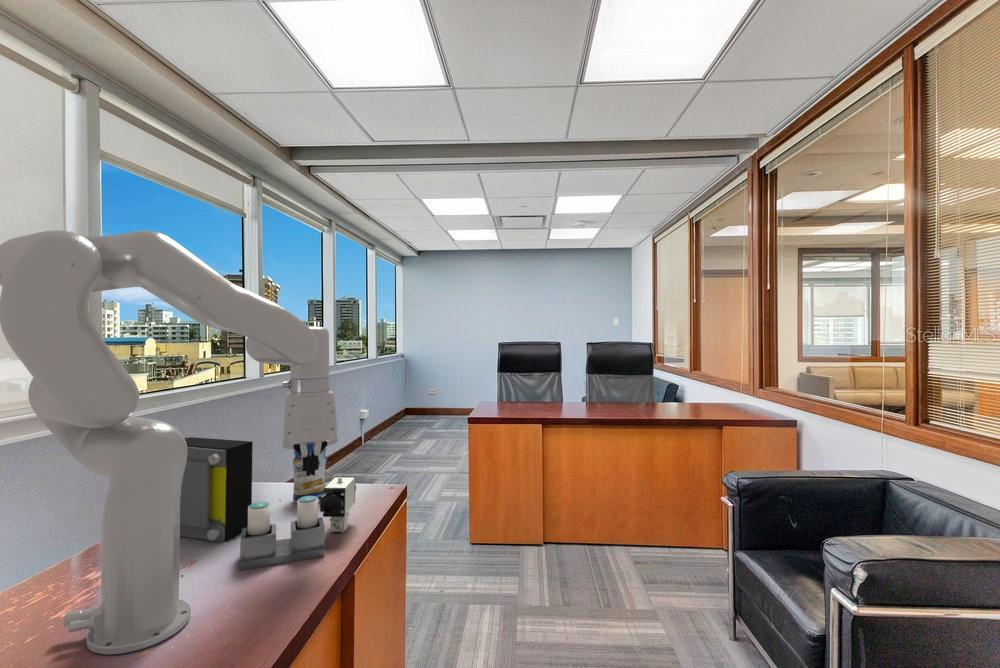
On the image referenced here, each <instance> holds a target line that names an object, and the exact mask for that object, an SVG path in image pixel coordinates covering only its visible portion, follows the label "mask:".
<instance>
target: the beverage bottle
mask: <svg viewBox="0 0 1000 668" xmlns="http://www.w3.org/2000/svg"><path fill="white" fill-rule="evenodd" d="M306 446H307V450H308V451H309V454H311V453H312V450H313V447H314V442H311V443H306ZM326 453H327V446H326V447H325V448H324V449H323V451H322V452H321V453H320V454H319V455H318V470H315V475H313V476H312V475H310V476H307V474H306V471H303V457H302V455H301V454H299V453H298V452H297V451H296V450H294V449H293V454H294V458H293V460H292V466H293V493H292V494H293V496H292V501H293V502H294V503H295V504H297V501H298V500H299V499H300V498H301V497H305V496H315V497H317V498H318V503H320V498H321V497H322V496H323V489H324V488H325V487H324V486H325V484H326V466H327V459H328V458H327V456H326Z"/></svg>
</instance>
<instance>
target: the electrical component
mask: <svg viewBox="0 0 1000 668" xmlns="http://www.w3.org/2000/svg"><path fill="white" fill-rule="evenodd" d="M184 438H185V441H186V444H187V450H188V455H187V462H186V467H185V471H184V476H183V481H182V488H181V499H180V537H183V538H184V537H185V538H192V539H199V540H206V541H210V542H211V541H213V542H219V543H227V542H229V541H231V540H233V539H234V538H237V537H239V536H241V532H242V528H247V527H248V507H249V506H250V505H251V504H253V498H252V497H253V446H254V444H253V441H248V440H235V439H234V440H233V439H221V438H220V439H219V438H206V437H193V436H191V437H184Z"/></svg>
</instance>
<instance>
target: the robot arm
mask: <svg viewBox="0 0 1000 668" xmlns="http://www.w3.org/2000/svg"><path fill="white" fill-rule="evenodd" d="M0 286H1V287H2V288H1V292H0V329H1V331H2V334H3V336H4V338H5V340H6V342H7V343H8V345H9V347H10V349H11V350H12V351H13V353H14V354H15V355H16V356H17V358H18V359H19V361H20V362H21V363H22V365H23V366H24V367H25V368H26V370H27V371H28V373H29V374H30V375H31V376H32V379H31V381H30V384H29V386H28V390H27V391H28V393H27V396H28V402H29V405H30V407H31V409H32V410H33V413H34V414H35V415H36V417H37V418H38V419H39V420H40V422H41V423H43V425H44V426H45V427H46V428H47V430H49V432H50V433H51V434H52V435H53V436H54V437H55V438H56V439H57V441H58V442H59V443H60V444H61V445H62V446H63V447H64V448H65V450H66V451H68V453H69V454H70V455H71V456H72V457H73V458H74V459H75V460H76V461H77V462H78V463H79V464H80V465H82V467H83V468H85V469H87V470H88V471H90V472H93V473H95V474H97V475H98V476H103V477H105V478H109V486H108V489H107V494H106V497H105V499H104V500H105V501H104V503H103V509H102V518H101V578H100V579H101V582H100V584H101V585H100V587H101V588H100V591H101V592H100V604H95V605H93V607H92V608H85V609H76V610H72V611H71V610H70V611H67V612H66V613H65V615H64V618H63V627H64V628H67V627H68V633H75V632H81V631H83V630H87V629H88V632H87V635H86V647H87V649H88V650H89V651H91V652H93V653H95V654H98V653H99V655H120V654H126V653H130V652H136V651H139V650H143V649H146V648H149V647H152V646H154V645H157V644H158V643H160V642H163V641H165V640H167V639H168V638H170V637H172V636H173V635H175V634H177V632H179V631H180V630H182V628H183V627H185V625H186V624H187V623H188V622H189V620H190V618H191V605H190V604H189V603H188V602H187V601H185V600H183V599H180V560H181V559H180V551H181V547H180V546H181V541H180V539H181V536H180V499H181V488H182V481H183V476H184V471H185V467H186V462H187V455H188V450H187V444H186V441H185V438H186V437H184V435H183V433H181V431H180V430H179V429H178V428H176V427H175V426H173V425H171V424H170V423H168V422H164V421H161V420H158V419H153V418H152V419H151V418H147V417H140V416H136V415H135V414H134V413H135V412H136V410H137V408H138V406H139V403H140V391H139V388H138V385H137V384H136V382H135V379H133V377H132V376H131V374H129V372H128V371H127V370H126V368H125V367H124V365H122V363H121V361H120V360H119V359H118V358H117V356H116V355H115V354H114V353H113V351H112V350H111V348H110V347H109V346H108V344H107V343H106V341H104V339H103V337H102V336H101V334H100V332H99V331H98V330H97V328H96V326H95V325H94V323H93V321H92V318H91V316H90V312H89V311H90V307H89V303H90V298H91V295H92V293H96V292H103V291H111V290H112V291H113V290H118V289H128V288H129V289H130V288H138V287H139V288H142V289H144V290H145V291H147V292H148V293H150V294H151V295H153V296H155V297H156V298H158V299H159V300H162V302H165V303H166V304H168V305H169V306H170V307H173V308H174V309H176V310H177V311H179V312H181V313H182V314H184V315H186V316H187V317H188V318H191V319H192V320H193V321H195V322H196V323H199V324H201V325H204V326H207V327H209V328H212V329H215V330H220V331H225V332H229V333H233V334H237V335H241V336H243V337H246V340H245V349H246V353H247V354H248V356H249V357H250V359H252V360H254V361H256V362H257V363H261V364H266V365H277V366H278V365H282V366H283V365H284V366H290V368H289V370H290V373H289V374H290V378H289V379H288V380H286V381H282V389H286V390H287V389H288V390H290V392H287V394H286V397H285V401H284V410H283V440H282V444H281V446H282V449H285V450H287V449H288V450H293V451H294V450H296V451H297V452H298V453H299V454H301V455H302V457H303V471H306V474H307V476H310V475H312V476H313V475H315V470H318V455H319V454H320V453H321V452H322V451H323V449H324V448H325V447H326V448H327V447H328V446H332V445H336V444H337V443H338V437H337V434H338V423H337V422H338V421H337V418H338V417H337V408H336V407H337V405H336V399H335V395H334V391H332V390H330V332H329V330H328V329H327V328H326V327H324V326H308V325H307V324H306V323H305V322H303V321H302V320H301V319H300V318H299V317H297V316H296V315H294V314H293V313H291V312H290V311H288V310H287V309H286V308H284V307H282V306H280V305H278V304H277V303H275V302H273V301H270V300H269V299H267V298H264V297H262V296H260V295H258V294H256V293H254V292H251V291H250V290H248V289H246V288H243V287H240V286H239V285H236V284H234V283H233V282H231V281H230V280H229V279H227V278H225V277H224V276H223V275H221V274H220V273H219V272H217V271H216V270H215V269H213V268H211V267H210V266H209V265H208V264H207V263H206V262H204V261H202V260H201V259H200V258H198V257H197V256H196V255H195V254H193V253H192V252H190V251H189V250H187V249H186V248H185V247H183V246H182V245H181V244H179V243H178V242H177V241H175V240H174V239H172V238H170V237H169V236H168V235H165V234H163V233H162V232H158V231H155V230H137V231H132V232H125V233H120V234H113V235H100V236H97V235H96V236H82V235H81V234H79V233H75V232H72V231H66V230H44V231H40V232H35V233H30V234H26V235H22V236H17V237H14V238H11V239H8V240H6V241H4V242H2V243H0ZM311 442H314V447H313V450H312V453H311V454H309V451H308V450H307V446H306V443H311Z"/></svg>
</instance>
